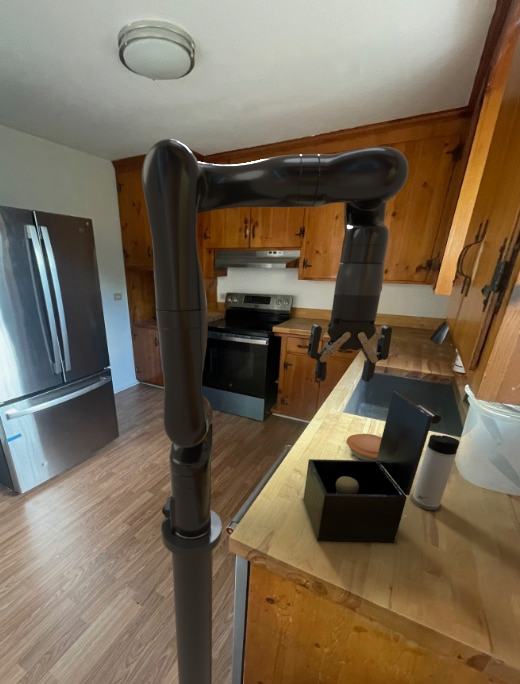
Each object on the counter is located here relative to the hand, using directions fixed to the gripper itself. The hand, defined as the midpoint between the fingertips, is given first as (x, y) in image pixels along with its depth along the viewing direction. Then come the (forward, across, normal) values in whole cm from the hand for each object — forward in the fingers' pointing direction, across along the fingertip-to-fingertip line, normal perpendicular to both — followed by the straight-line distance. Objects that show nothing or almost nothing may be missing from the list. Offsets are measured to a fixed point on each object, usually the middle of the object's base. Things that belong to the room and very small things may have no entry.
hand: (342, 380), depth 63 cm
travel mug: (+38, -32, -12) cm, 51 cm away
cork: (+38, -7, -5) cm, 38 cm away
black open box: (+38, -8, -5) cm, 39 cm away
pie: (+38, -27, -37) cm, 60 cm away
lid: (+16, -17, -5) cm, 23 cm away
